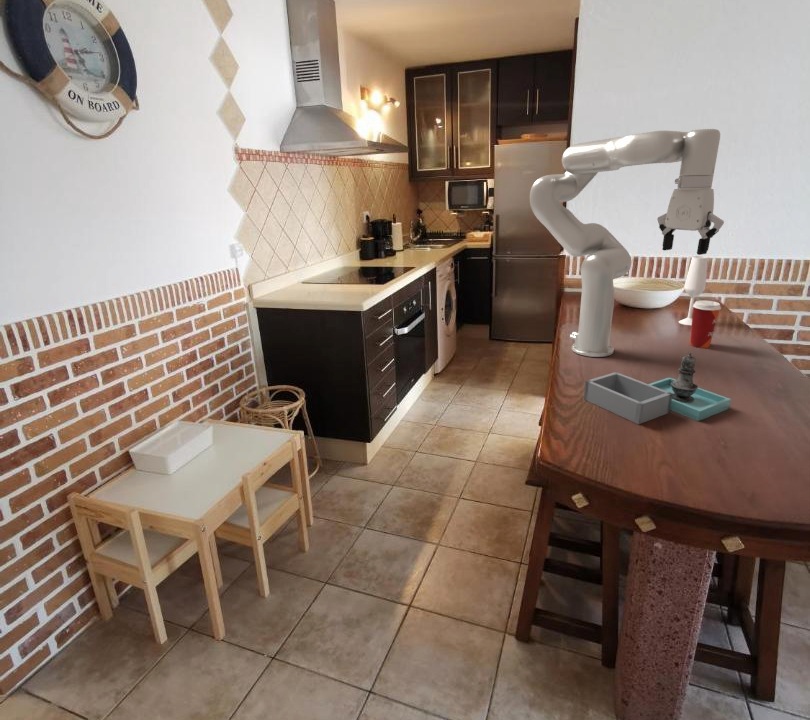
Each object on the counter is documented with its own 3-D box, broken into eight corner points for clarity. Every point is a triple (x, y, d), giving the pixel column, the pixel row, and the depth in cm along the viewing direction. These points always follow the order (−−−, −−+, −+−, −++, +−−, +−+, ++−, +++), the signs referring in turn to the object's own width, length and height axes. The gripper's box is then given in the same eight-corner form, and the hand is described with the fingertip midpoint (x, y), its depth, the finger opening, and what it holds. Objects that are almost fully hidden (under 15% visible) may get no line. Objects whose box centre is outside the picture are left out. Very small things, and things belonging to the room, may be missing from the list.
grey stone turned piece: (663, 394, 125) (671, 349, 121) (685, 392, 125) (694, 347, 121) (677, 404, 120) (685, 357, 115) (700, 402, 120) (710, 356, 116)
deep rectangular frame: (583, 399, 126) (585, 381, 124) (613, 389, 131) (616, 371, 129) (638, 424, 113) (641, 404, 111) (669, 412, 118) (672, 393, 116)
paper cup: (717, 349, 156) (725, 306, 151) (690, 348, 158) (698, 305, 153) (708, 341, 163) (716, 300, 158) (682, 340, 165) (689, 299, 160)
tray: (637, 396, 127) (638, 387, 126) (667, 385, 132) (669, 377, 131) (697, 421, 113) (699, 411, 113) (729, 408, 119) (731, 399, 118)
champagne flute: (681, 319, 188) (692, 255, 179) (701, 322, 183) (713, 256, 175) (675, 323, 183) (686, 257, 175) (695, 326, 179) (707, 259, 170)
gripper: (654, 183, 131) (645, 249, 137) (720, 183, 116) (707, 257, 122) (672, 182, 134) (663, 247, 140) (739, 182, 120) (725, 254, 126)
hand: (683, 251), depth 131 cm, fingers open, 9 cm apart
